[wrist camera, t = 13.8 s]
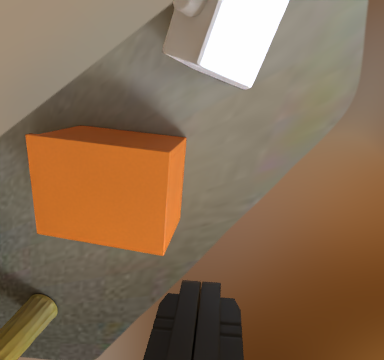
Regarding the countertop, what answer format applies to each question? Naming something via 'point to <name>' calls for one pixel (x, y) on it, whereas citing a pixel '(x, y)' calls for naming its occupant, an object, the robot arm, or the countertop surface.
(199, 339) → the robot arm
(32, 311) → the vase
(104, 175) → the lid
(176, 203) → the box
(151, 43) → the countertop surface
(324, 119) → the countertop surface
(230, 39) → the milk carton
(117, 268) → the countertop surface
